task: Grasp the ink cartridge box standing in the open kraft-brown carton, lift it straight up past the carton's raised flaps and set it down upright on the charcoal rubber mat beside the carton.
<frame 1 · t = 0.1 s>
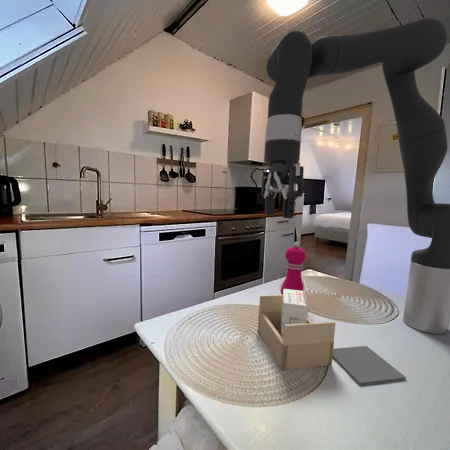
hand: (277, 216, 56), 29 cm above the table, tool pointing down, fingers open, 8 cm apart
ink cartridge box: (290, 346, 56), resting in carton
carton: (290, 345, 56), on the table
mat: (363, 364, 51), on the table
pepper mill: (291, 305, 78), on the table
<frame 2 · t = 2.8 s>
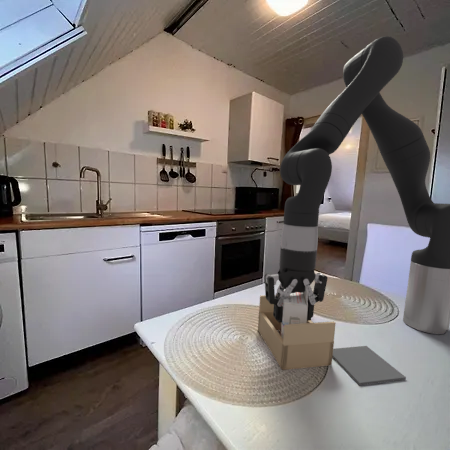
hand: (292, 319, 56), 6 cm above the table, tool pointing down, fingers closed on ink cartridge box, 6 cm apart
ink cartridge box: (290, 346, 56), resting in carton, touching gripper
everything else where it was.
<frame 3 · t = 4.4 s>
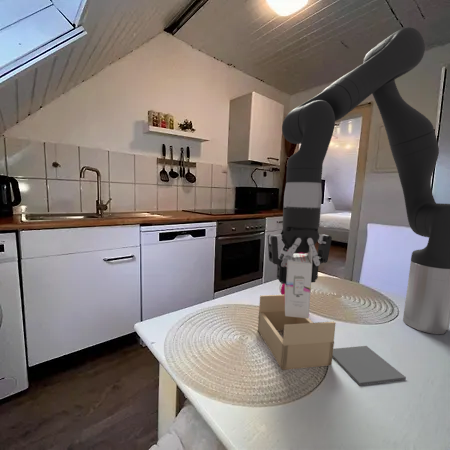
hand: (296, 281, 55), 15 cm above the table, tool pointing down, fingers closed on ink cartridge box, 6 cm apart
ink cartridge box: (294, 309, 55), point 9 cm above the table, touching gripper
everything else where it was.
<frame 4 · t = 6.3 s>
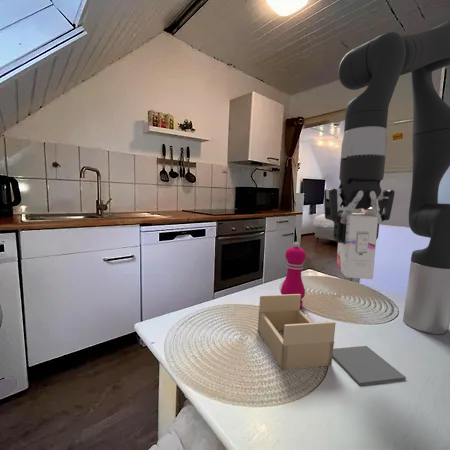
hand: (355, 241, 50), 25 cm above the table, tool pointing down, fingers closed on ink cartridge box, 6 cm apart
ink cartridge box: (352, 273, 51), point 18 cm above the table, touching gripper
everything else where it was.
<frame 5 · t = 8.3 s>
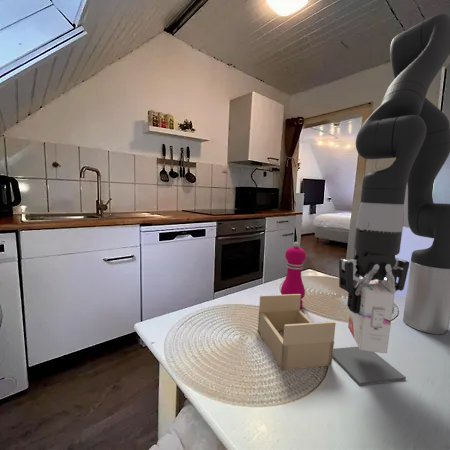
hand: (368, 310, 50), 11 cm above the table, tool pointing down, fingers closed on ink cartridge box, 6 cm apart
ink cartridge box: (365, 341, 50), point 5 cm above the table, touching gripper
everything else where it was.
when the fingers open (8 cm above the table, at t = 9.9 s): ink cartridge box drops 1 cm, resting on mat.
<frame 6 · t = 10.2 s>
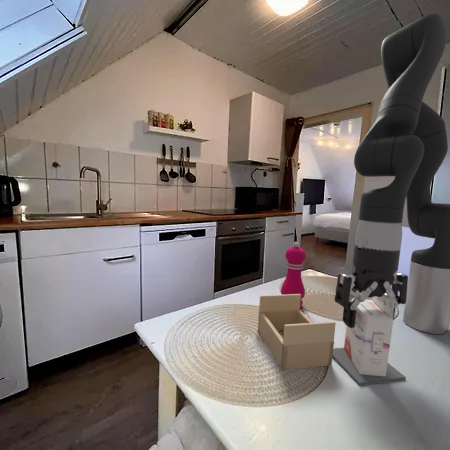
hand: (367, 324, 50), 9 cm above the table, tool pointing down, fingers open, 8 cm apart
ink cartridge box: (362, 362, 51), resting on mat
everything else where it was.
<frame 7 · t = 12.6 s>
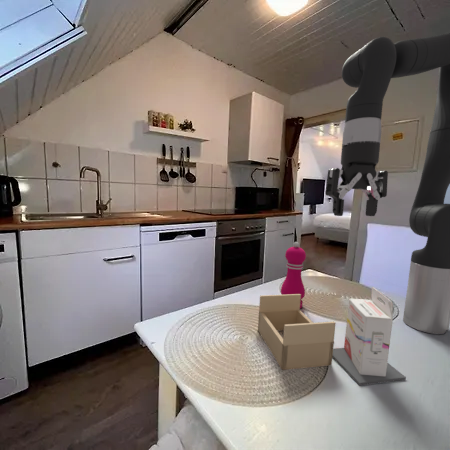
hand: (354, 215, 58), 30 cm above the table, tool pointing down, fingers open, 8 cm apart
nothing on the table moved.
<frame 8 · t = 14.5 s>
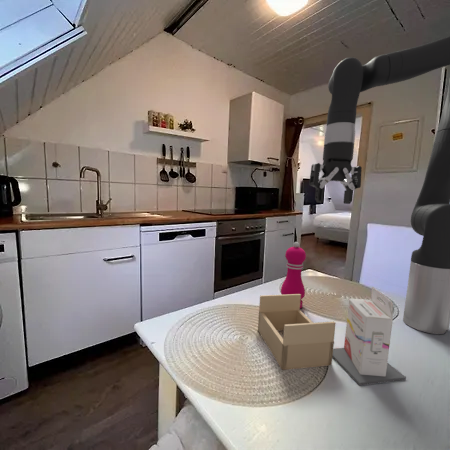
hand: (333, 203, 70), 32 cm above the table, tool pointing down, fingers open, 8 cm apart
nothing on the table moved.
at the end: ink cartridge box inside the target area on the mat (0.1 cm from its centre), point 0.3 cm above the mat's base; ink cartridge box tilted 0°; ink cartridge box touching mat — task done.
